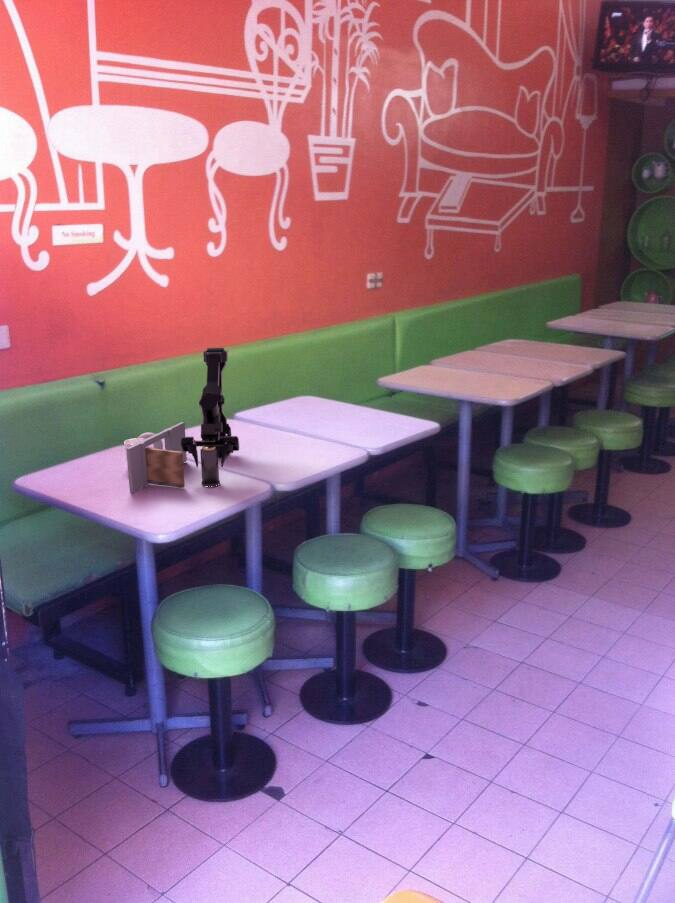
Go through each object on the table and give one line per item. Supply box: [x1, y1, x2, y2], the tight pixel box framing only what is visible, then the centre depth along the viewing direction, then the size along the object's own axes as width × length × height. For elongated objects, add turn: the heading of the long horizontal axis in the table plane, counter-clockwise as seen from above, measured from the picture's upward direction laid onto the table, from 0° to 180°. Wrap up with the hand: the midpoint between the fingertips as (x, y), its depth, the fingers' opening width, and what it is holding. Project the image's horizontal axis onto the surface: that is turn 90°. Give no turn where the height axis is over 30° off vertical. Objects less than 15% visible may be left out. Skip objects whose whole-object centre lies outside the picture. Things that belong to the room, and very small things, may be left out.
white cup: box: [123, 437, 149, 468], centre depth 297 cm, size 8×8×10 cm
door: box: [145, 447, 186, 489], centre depth 278 cm, size 14×1×12 cm, turn 70°
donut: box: [137, 431, 164, 450], centre depth 308 cm, size 10×4×10 cm, turn 94°
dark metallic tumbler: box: [199, 445, 221, 488], centre depth 280 cm, size 6×6×13 cm
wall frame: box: [126, 421, 188, 494], centre depth 288 cm, size 34×2×15 cm, turn 159°
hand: (209, 466), depth 279 cm, fingers open, 8 cm apart
